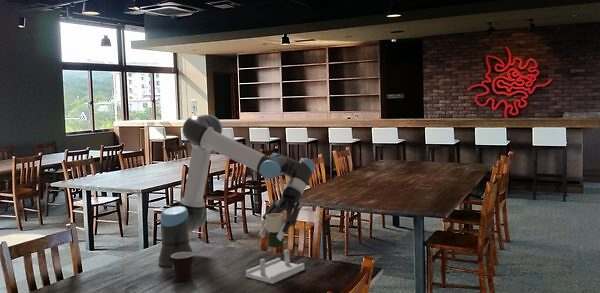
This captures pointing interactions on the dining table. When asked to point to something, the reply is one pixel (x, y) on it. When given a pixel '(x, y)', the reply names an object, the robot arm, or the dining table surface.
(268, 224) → the character mug
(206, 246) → the dining table surface
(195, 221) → the robot arm
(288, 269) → the tray
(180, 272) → the coffee mug
